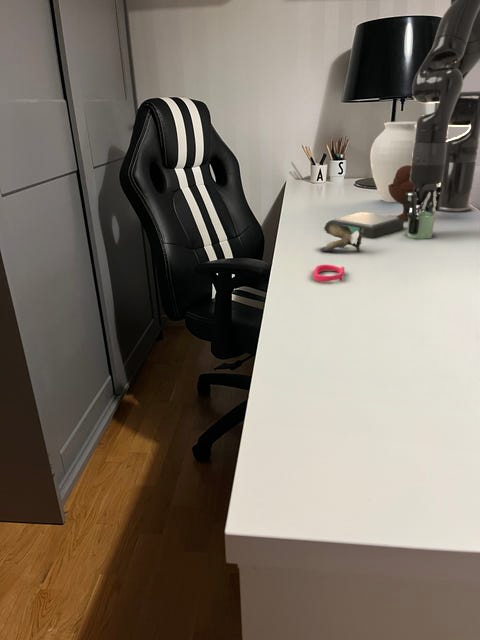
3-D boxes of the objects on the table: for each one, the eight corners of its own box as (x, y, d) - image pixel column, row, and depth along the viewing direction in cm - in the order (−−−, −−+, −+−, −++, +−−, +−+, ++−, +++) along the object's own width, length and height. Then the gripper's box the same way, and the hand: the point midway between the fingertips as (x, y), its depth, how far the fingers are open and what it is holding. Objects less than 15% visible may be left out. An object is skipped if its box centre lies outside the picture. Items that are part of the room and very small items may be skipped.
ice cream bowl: (428, 223, 138) (435, 167, 132) (386, 222, 140) (391, 167, 134) (423, 215, 148) (429, 162, 142) (384, 215, 150) (388, 163, 144)
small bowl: (414, 231, 130) (417, 210, 128) (436, 235, 126) (439, 213, 124) (402, 236, 126) (404, 214, 124) (424, 239, 122) (426, 217, 120)
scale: (359, 221, 143) (360, 210, 142) (403, 228, 133) (404, 217, 132) (327, 230, 134) (328, 218, 133) (372, 238, 125) (372, 226, 123)
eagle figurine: (360, 240, 119) (322, 232, 120) (367, 219, 113) (327, 211, 114) (355, 264, 115) (317, 256, 116) (362, 244, 109) (321, 235, 110)
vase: (394, 207, 161) (402, 123, 151) (356, 199, 175) (361, 122, 165) (432, 201, 169) (442, 121, 159) (392, 194, 183) (399, 120, 173)
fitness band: (342, 284, 94) (342, 276, 93) (311, 282, 95) (311, 274, 95) (345, 271, 101) (345, 263, 101) (316, 269, 103) (316, 262, 102)
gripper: (427, 165, 112) (418, 239, 119) (457, 160, 121) (448, 228, 127) (397, 163, 117) (390, 234, 124) (429, 158, 126) (421, 224, 132)
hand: (420, 231), depth 125 cm, fingers closed on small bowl, 6 cm apart
